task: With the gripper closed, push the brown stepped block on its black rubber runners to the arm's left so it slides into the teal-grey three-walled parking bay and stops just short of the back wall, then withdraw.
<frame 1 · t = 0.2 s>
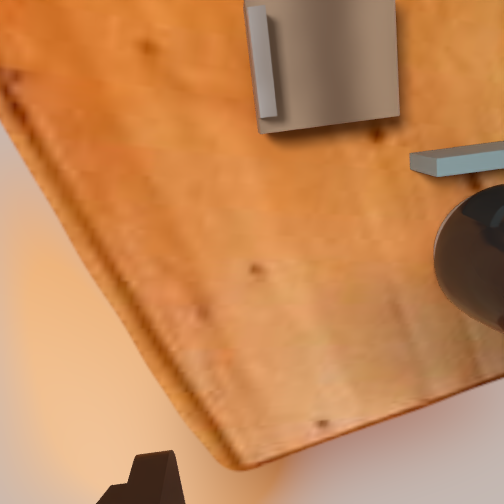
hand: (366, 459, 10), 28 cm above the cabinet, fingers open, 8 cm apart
dock bay: (451, 48, 34), on the cabinet
brown stepped block: (312, 66, 34), on the cabinet
pump dispenser: (477, 241, 38), on the cabinet
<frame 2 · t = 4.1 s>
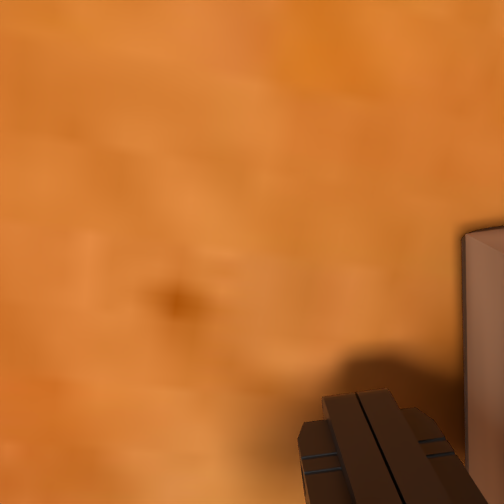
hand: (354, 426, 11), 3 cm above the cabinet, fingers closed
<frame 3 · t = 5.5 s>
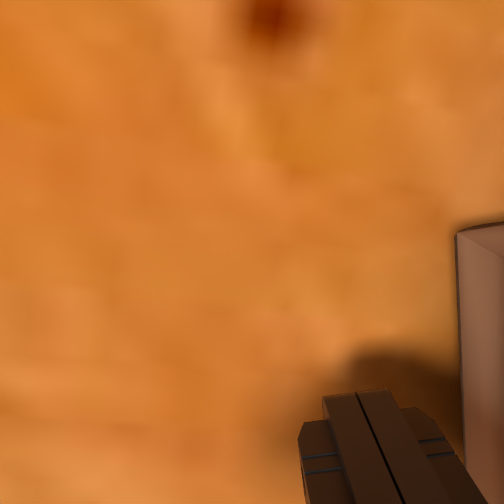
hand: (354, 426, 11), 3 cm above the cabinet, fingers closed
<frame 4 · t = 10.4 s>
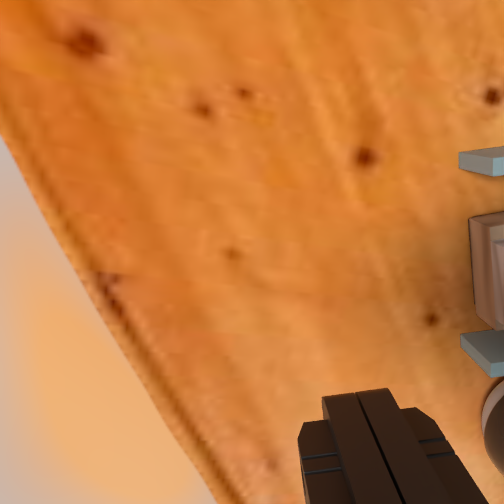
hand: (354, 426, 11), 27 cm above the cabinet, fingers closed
dock bay: (500, 249, 39), on the cabinet
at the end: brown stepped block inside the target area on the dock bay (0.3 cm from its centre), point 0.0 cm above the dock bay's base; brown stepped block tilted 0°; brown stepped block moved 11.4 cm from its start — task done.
